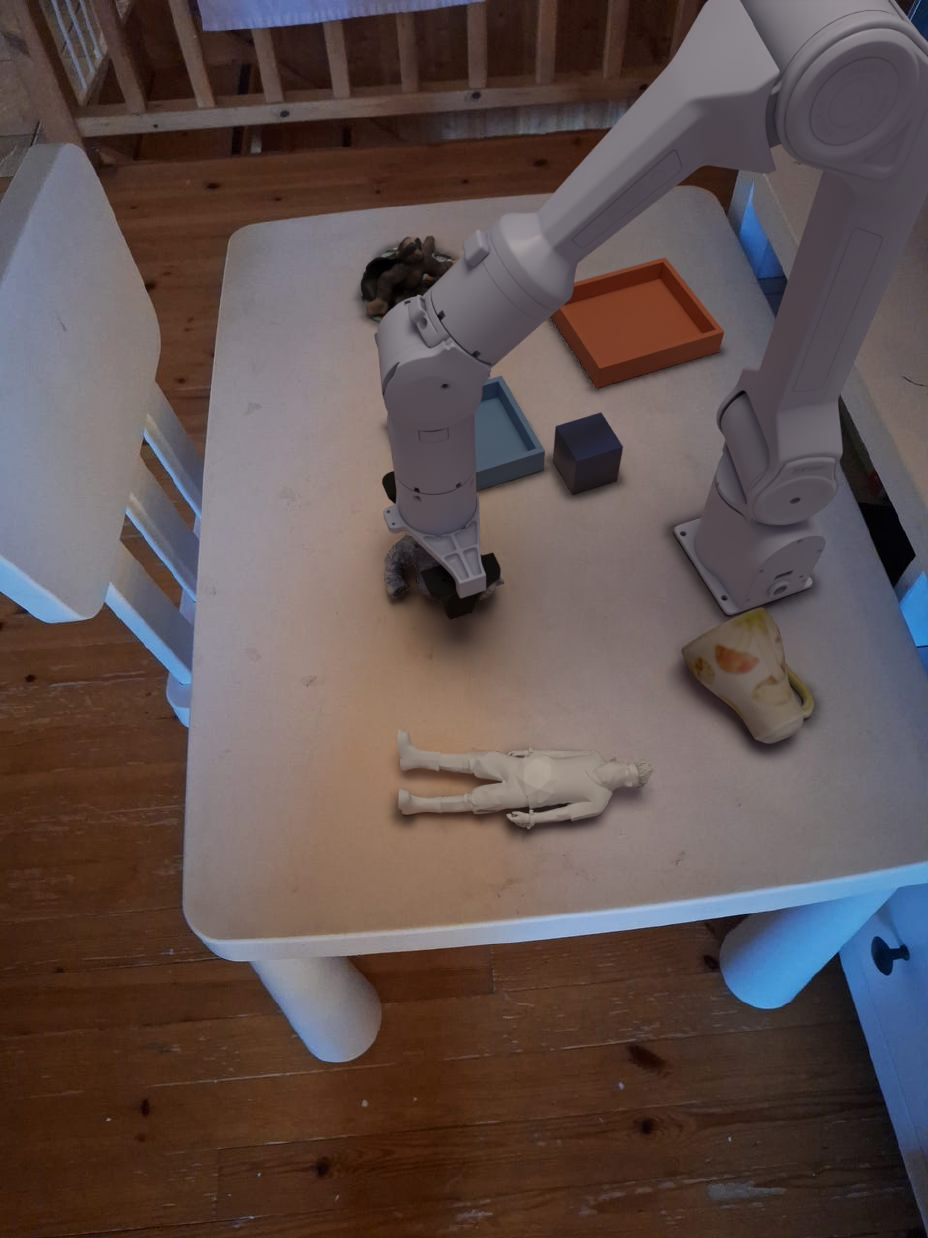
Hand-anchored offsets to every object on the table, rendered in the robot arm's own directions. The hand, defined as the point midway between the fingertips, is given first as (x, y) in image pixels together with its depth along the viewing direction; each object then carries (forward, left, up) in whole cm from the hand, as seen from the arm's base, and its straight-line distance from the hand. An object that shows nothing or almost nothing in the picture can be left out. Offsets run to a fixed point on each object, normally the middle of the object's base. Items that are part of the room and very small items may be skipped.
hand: (443, 574), depth 74 cm
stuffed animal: (+36, -10, -2) cm, 37 cm away
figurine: (-19, +1, -2) cm, 19 cm away
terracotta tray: (+22, -28, -2) cm, 36 cm away
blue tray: (+13, -7, -2) cm, 15 cm away
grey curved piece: (0, 0, -2) cm, 2 cm away
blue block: (+7, -16, -2) cm, 18 cm away
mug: (-18, -18, -2) cm, 26 cm away
